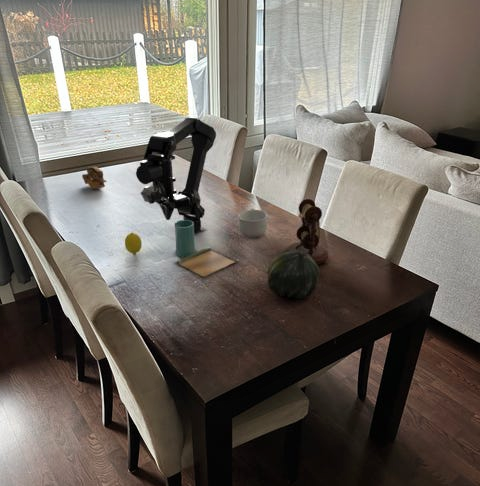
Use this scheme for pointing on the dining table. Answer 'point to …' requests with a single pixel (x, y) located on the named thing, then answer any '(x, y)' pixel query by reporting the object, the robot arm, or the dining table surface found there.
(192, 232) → the cup
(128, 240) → the lemon
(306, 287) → the squash
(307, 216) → the brown spool stand
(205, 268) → the cork mat
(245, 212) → the teacup
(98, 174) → the wooden carving
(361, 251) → the dining table surface
